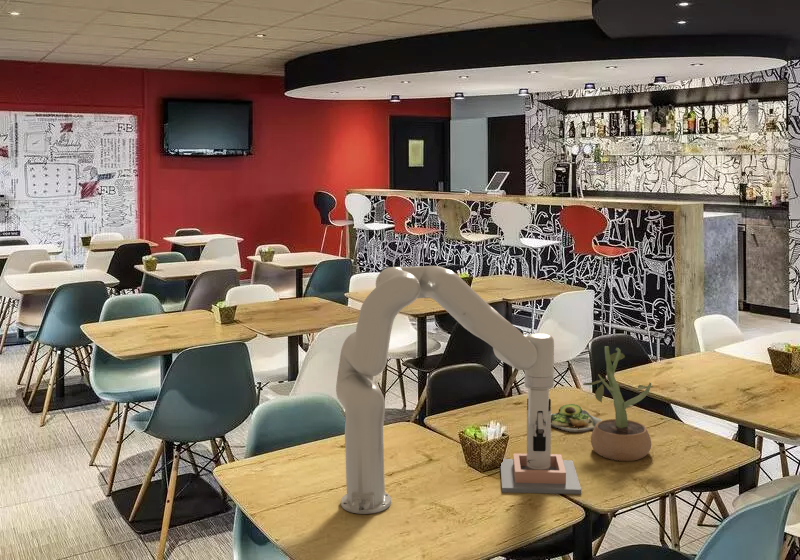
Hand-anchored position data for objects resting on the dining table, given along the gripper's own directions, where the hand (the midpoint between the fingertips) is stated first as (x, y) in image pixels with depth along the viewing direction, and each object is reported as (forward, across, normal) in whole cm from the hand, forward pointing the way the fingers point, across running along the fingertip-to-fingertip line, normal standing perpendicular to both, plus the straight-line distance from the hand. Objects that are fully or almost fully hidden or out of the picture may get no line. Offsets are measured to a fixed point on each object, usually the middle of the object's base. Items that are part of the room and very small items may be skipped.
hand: (538, 445), depth 209 cm
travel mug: (+7, 0, 0) cm, 7 cm away
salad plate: (+10, -46, +14) cm, 49 cm away
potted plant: (+9, -23, +24) cm, 35 cm away
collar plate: (+9, 0, 0) cm, 9 cm away
